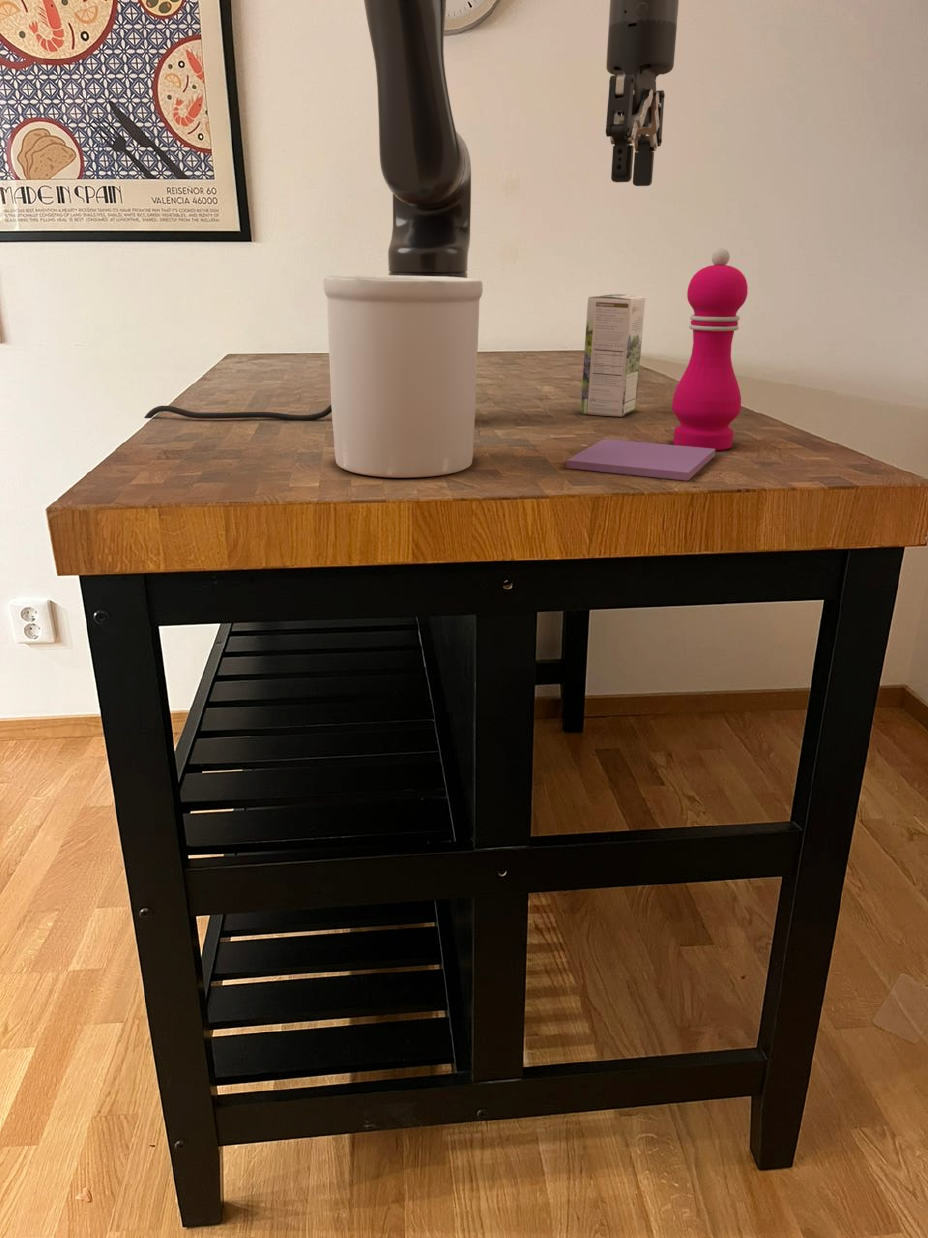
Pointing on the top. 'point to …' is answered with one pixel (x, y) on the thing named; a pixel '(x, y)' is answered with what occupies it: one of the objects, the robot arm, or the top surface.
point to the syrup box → (612, 354)
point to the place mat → (642, 459)
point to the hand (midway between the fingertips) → (631, 183)
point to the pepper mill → (711, 358)
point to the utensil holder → (403, 372)
